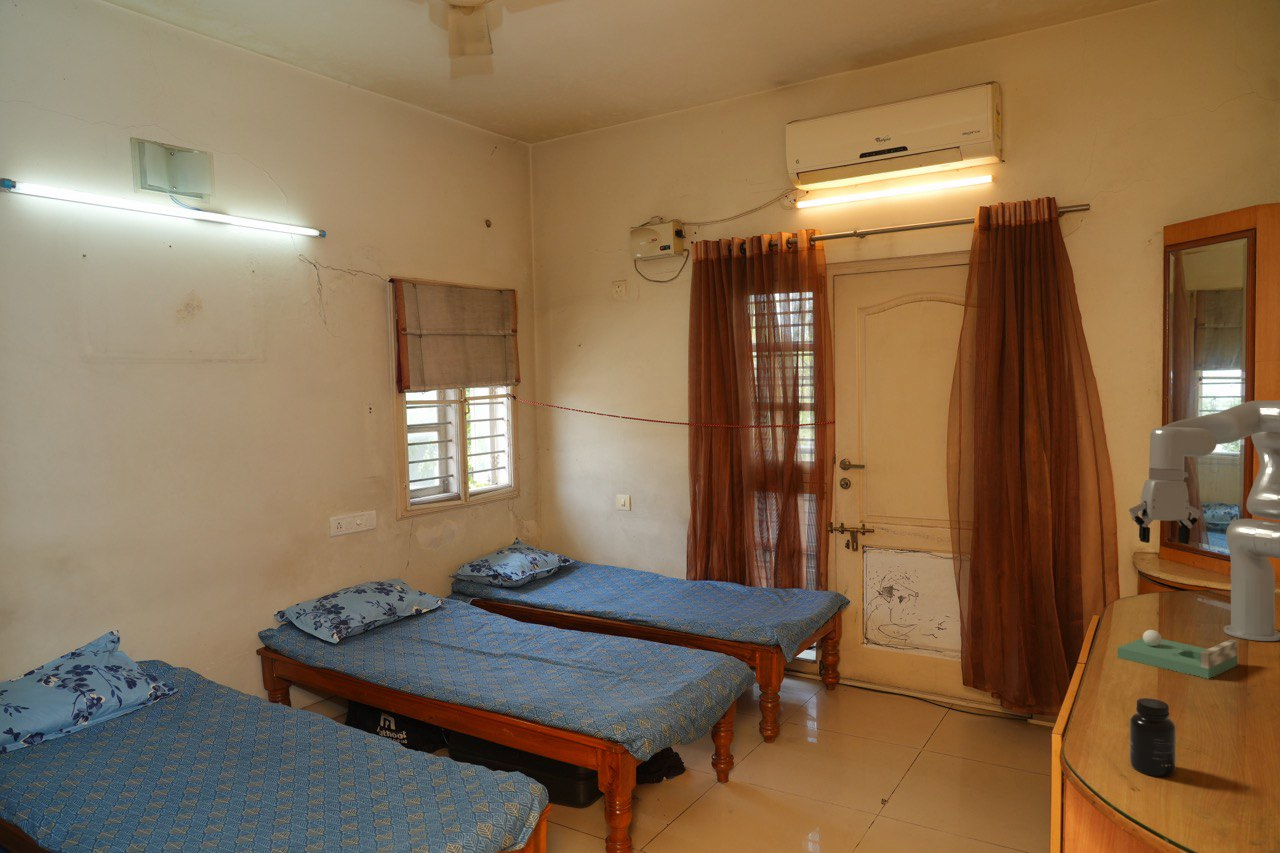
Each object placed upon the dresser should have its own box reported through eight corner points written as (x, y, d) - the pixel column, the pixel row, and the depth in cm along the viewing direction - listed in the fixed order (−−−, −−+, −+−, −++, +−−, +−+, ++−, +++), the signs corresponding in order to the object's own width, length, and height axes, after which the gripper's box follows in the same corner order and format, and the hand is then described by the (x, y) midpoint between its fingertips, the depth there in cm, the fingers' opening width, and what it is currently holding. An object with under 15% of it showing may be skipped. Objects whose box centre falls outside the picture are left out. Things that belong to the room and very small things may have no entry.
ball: (1147, 642, 206) (1147, 627, 206) (1164, 646, 203) (1164, 630, 202) (1139, 645, 204) (1139, 629, 204) (1157, 649, 200) (1157, 633, 200)
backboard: (1230, 653, 196) (1230, 639, 196) (1237, 655, 195) (1237, 640, 195) (1201, 666, 187) (1201, 652, 187) (1208, 668, 186) (1208, 653, 186)
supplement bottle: (1121, 761, 146) (1121, 696, 145) (1156, 759, 146) (1156, 694, 146) (1148, 779, 139) (1148, 711, 138) (1185, 777, 139) (1185, 709, 139)
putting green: (1148, 645, 211) (1148, 635, 211) (1237, 665, 195) (1237, 655, 195) (1117, 657, 202) (1117, 647, 202) (1208, 679, 186) (1208, 668, 186)
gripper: (1191, 475, 209) (1189, 541, 209) (1123, 474, 210) (1121, 539, 210) (1210, 478, 201) (1208, 546, 202) (1140, 476, 202) (1137, 544, 202)
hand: (1163, 542), depth 206 cm, fingers open, 9 cm apart
